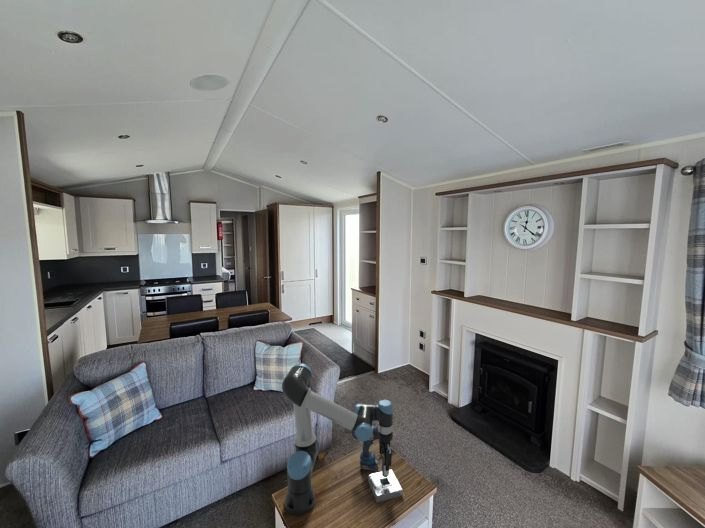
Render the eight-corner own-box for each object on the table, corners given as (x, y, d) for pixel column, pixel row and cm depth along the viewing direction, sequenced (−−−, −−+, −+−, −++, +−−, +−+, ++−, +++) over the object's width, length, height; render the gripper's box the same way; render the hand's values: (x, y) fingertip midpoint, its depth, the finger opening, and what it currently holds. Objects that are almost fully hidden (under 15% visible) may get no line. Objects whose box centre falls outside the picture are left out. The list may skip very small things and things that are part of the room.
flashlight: (380, 478, 162) (380, 457, 161) (378, 473, 166) (378, 452, 164) (392, 475, 164) (392, 454, 163) (389, 470, 167) (389, 450, 166)
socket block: (376, 502, 157) (376, 495, 157) (367, 480, 170) (367, 474, 170) (402, 495, 161) (402, 489, 161) (391, 475, 174) (391, 469, 174)
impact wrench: (390, 475, 174) (390, 433, 171) (350, 468, 179) (350, 428, 176) (391, 464, 182) (391, 424, 179) (353, 458, 187) (353, 419, 184)
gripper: (398, 439, 155) (398, 482, 158) (386, 420, 171) (385, 459, 173) (384, 442, 153) (384, 486, 156) (373, 422, 169) (373, 462, 171)
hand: (385, 472), depth 165 cm, fingers closed on flashlight, 3 cm apart
